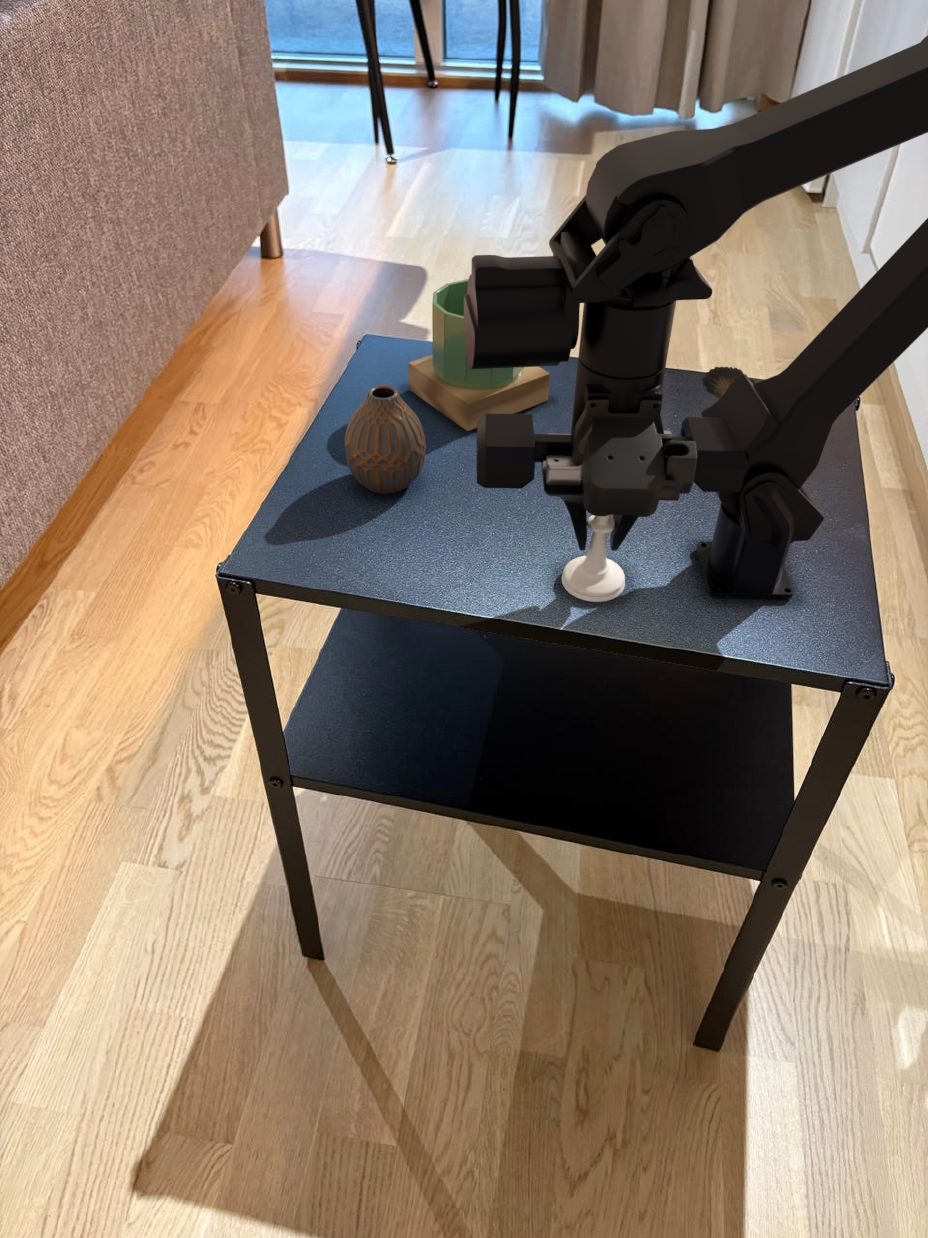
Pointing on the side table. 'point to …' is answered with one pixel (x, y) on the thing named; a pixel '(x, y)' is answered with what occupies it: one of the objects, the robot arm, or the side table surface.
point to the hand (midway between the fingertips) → (597, 547)
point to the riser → (477, 394)
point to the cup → (459, 344)
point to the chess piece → (595, 567)
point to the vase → (385, 442)
